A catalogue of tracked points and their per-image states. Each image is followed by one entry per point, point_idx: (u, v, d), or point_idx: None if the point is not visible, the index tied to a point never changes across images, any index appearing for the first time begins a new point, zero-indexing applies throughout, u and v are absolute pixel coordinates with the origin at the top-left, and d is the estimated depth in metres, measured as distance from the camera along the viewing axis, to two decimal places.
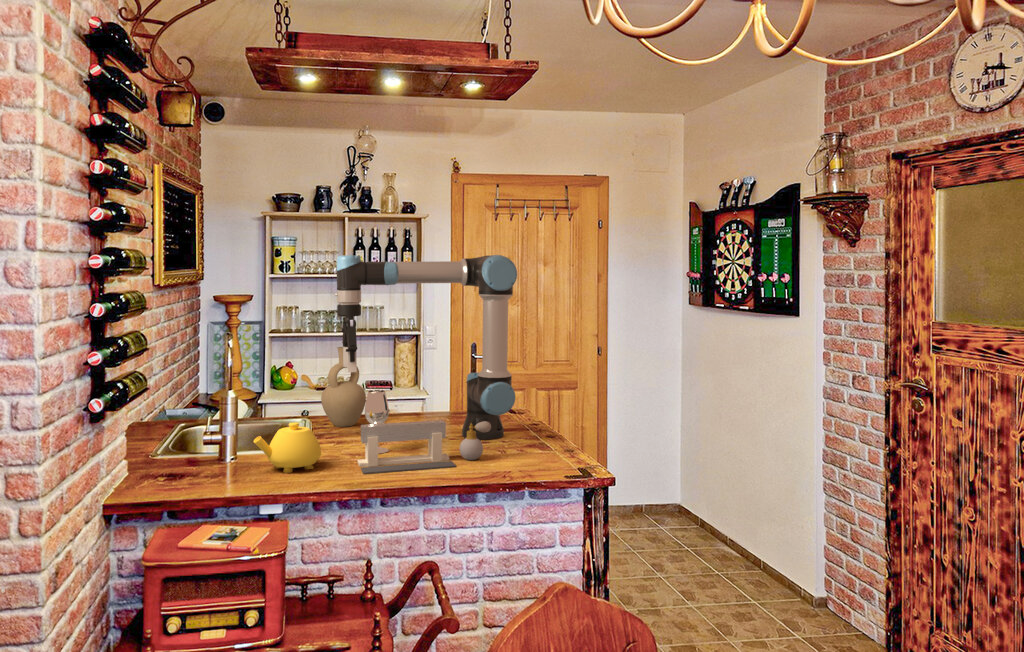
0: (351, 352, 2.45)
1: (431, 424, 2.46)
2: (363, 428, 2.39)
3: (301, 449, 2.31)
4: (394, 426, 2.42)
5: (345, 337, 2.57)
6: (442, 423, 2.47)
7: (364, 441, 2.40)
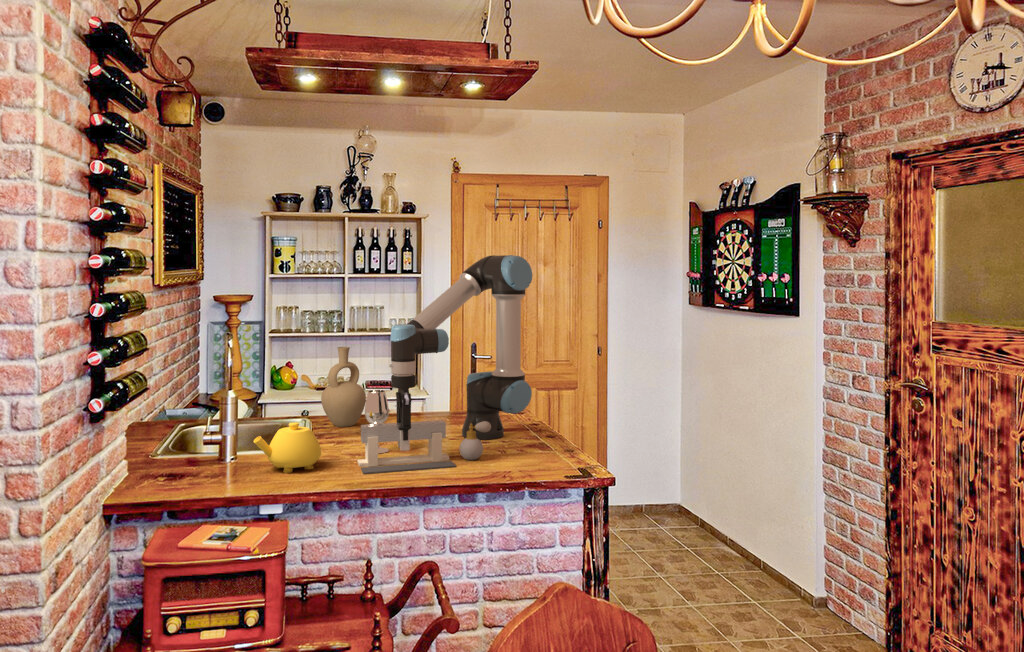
0: (404, 431, 2.41)
1: (431, 424, 2.46)
2: (363, 428, 2.39)
3: (301, 449, 2.31)
4: (394, 426, 2.42)
5: (400, 412, 2.46)
6: (442, 423, 2.47)
7: (364, 441, 2.40)
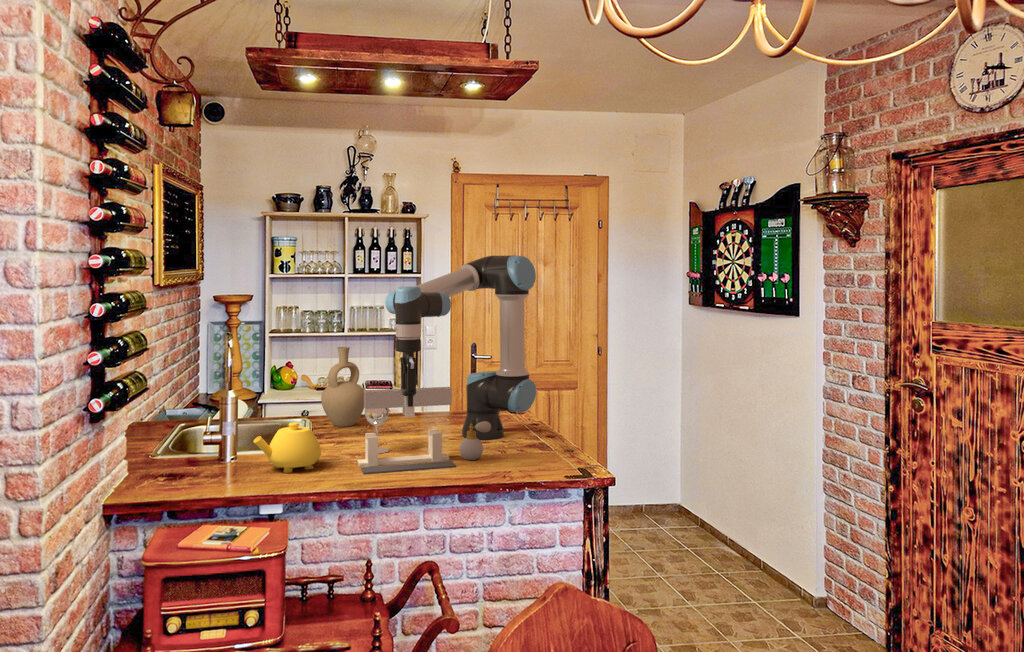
0: (409, 396, 2.32)
1: (437, 390, 2.37)
2: (366, 393, 2.30)
3: (301, 449, 2.31)
4: (398, 392, 2.33)
5: (404, 378, 2.37)
6: (448, 389, 2.38)
7: (367, 407, 2.30)
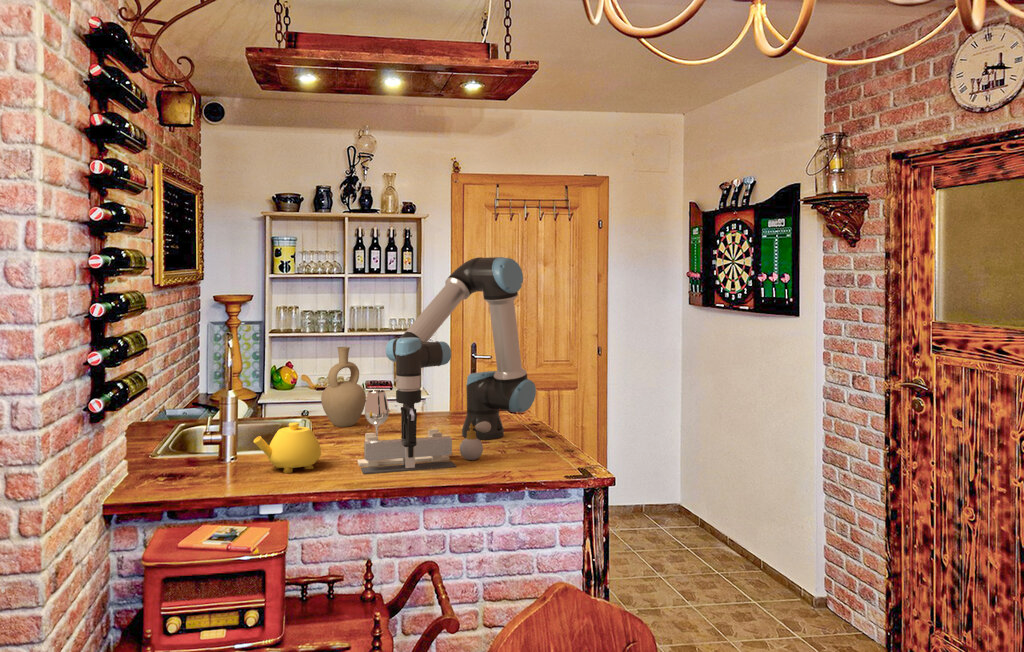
0: (410, 447, 2.33)
1: (437, 440, 2.38)
2: (367, 445, 2.31)
3: (301, 449, 2.31)
4: (399, 443, 2.34)
5: (405, 428, 2.38)
6: (448, 439, 2.39)
7: (368, 458, 2.32)
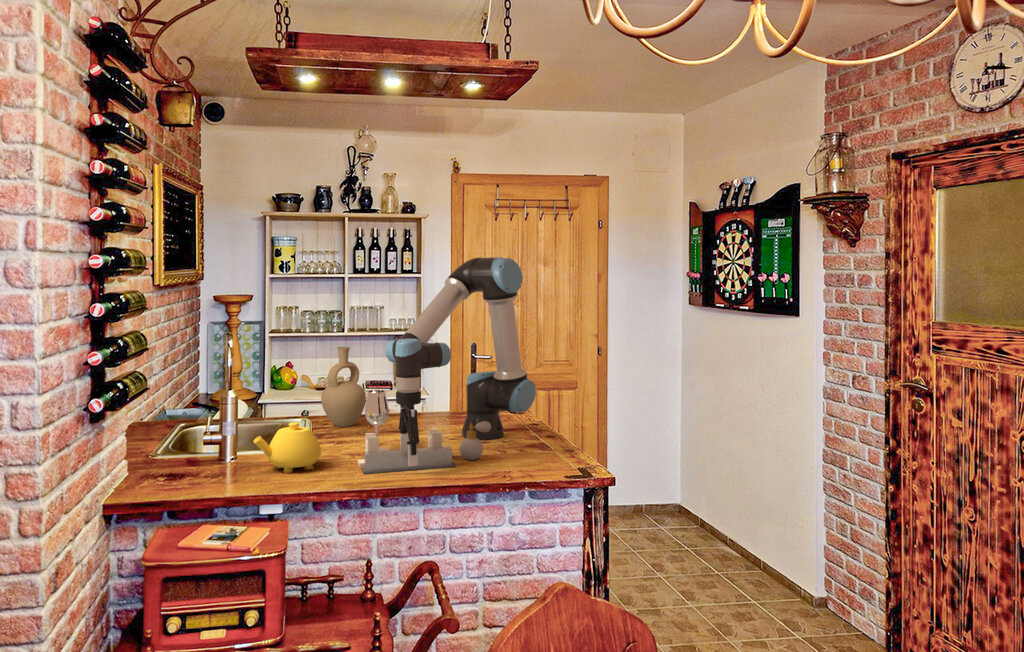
0: (413, 445, 2.29)
1: (437, 451, 2.38)
2: (367, 456, 2.32)
3: (301, 449, 2.31)
4: (399, 453, 2.34)
5: (403, 424, 2.41)
6: (448, 450, 2.39)
7: (368, 469, 2.32)
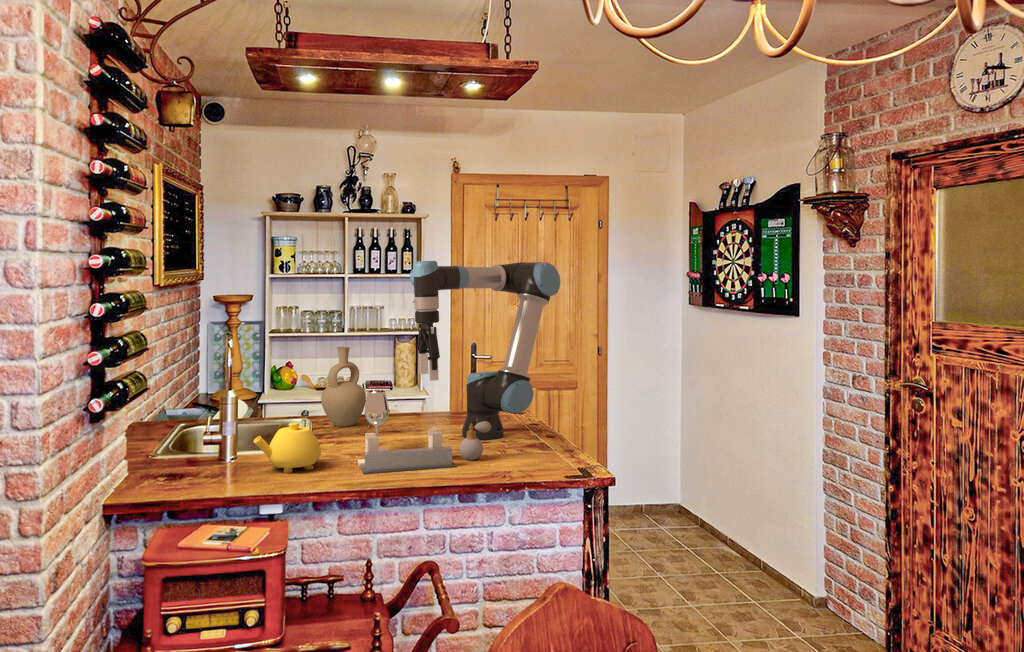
0: (433, 360, 2.40)
1: (437, 451, 2.38)
2: (367, 456, 2.32)
3: (301, 449, 2.31)
4: (399, 453, 2.34)
5: (422, 344, 2.52)
6: (448, 450, 2.39)
7: (368, 469, 2.32)
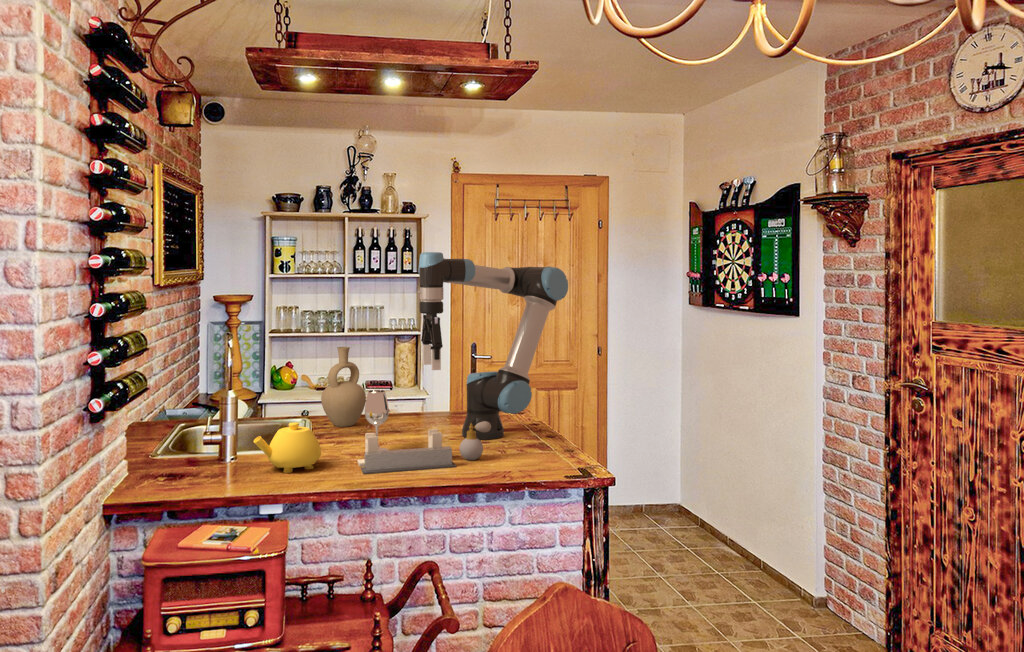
0: (436, 350, 2.43)
1: (437, 451, 2.38)
2: (367, 456, 2.32)
3: (301, 449, 2.31)
4: (399, 453, 2.34)
5: (426, 335, 2.55)
6: (448, 450, 2.39)
7: (368, 469, 2.32)
